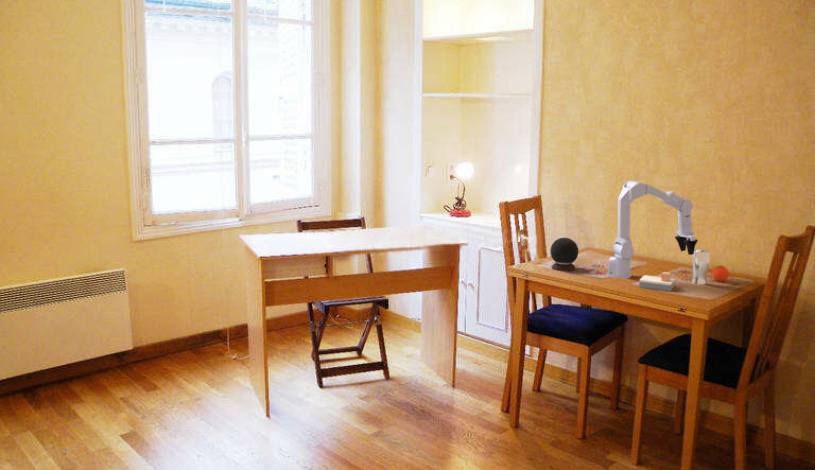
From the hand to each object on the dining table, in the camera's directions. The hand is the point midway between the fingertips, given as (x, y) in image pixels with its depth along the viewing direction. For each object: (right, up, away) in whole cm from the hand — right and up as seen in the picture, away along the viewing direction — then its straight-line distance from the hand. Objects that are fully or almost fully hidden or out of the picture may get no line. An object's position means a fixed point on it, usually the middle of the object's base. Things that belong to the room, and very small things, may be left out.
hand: (687, 252), depth 349 cm
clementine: (+11, -13, -9) cm, 19 cm away
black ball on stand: (-55, -8, +12) cm, 57 cm away
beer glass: (0, -14, -14) cm, 20 cm away
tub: (-21, -15, -22) cm, 34 cm away
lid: (-21, -12, -22) cm, 33 cm away
